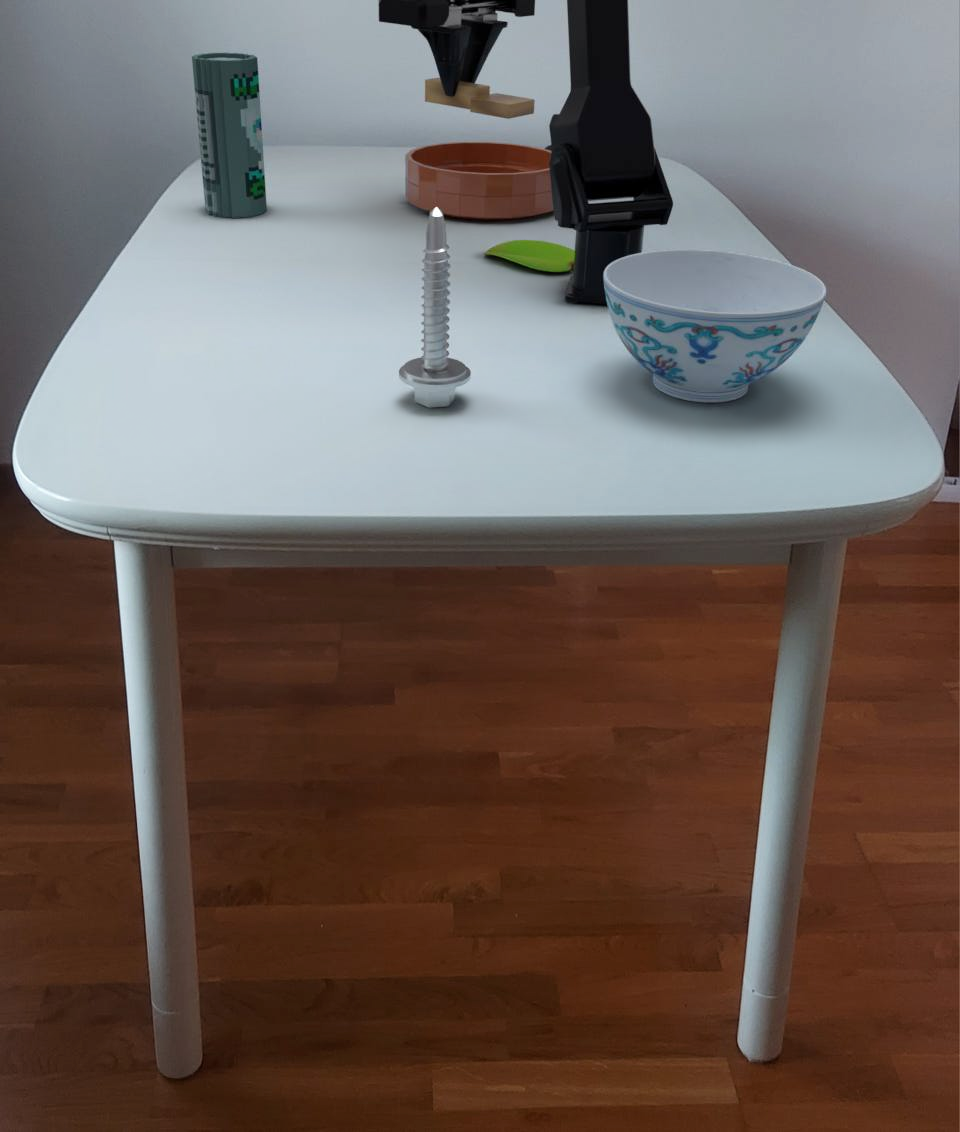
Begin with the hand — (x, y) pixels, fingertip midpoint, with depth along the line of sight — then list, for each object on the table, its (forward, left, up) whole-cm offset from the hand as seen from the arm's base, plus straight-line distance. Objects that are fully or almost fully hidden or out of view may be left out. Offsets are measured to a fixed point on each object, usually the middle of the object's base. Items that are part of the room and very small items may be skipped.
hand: (457, 94), depth 123 cm
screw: (-56, -8, -12) cm, 58 cm away
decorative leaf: (-21, -11, -11) cm, 26 cm away
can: (-9, +22, -12) cm, 26 cm away
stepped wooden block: (-1, -2, -1) cm, 3 cm away
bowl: (+1, -3, -11) cm, 12 cm away
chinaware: (-49, -26, -12) cm, 57 cm away
